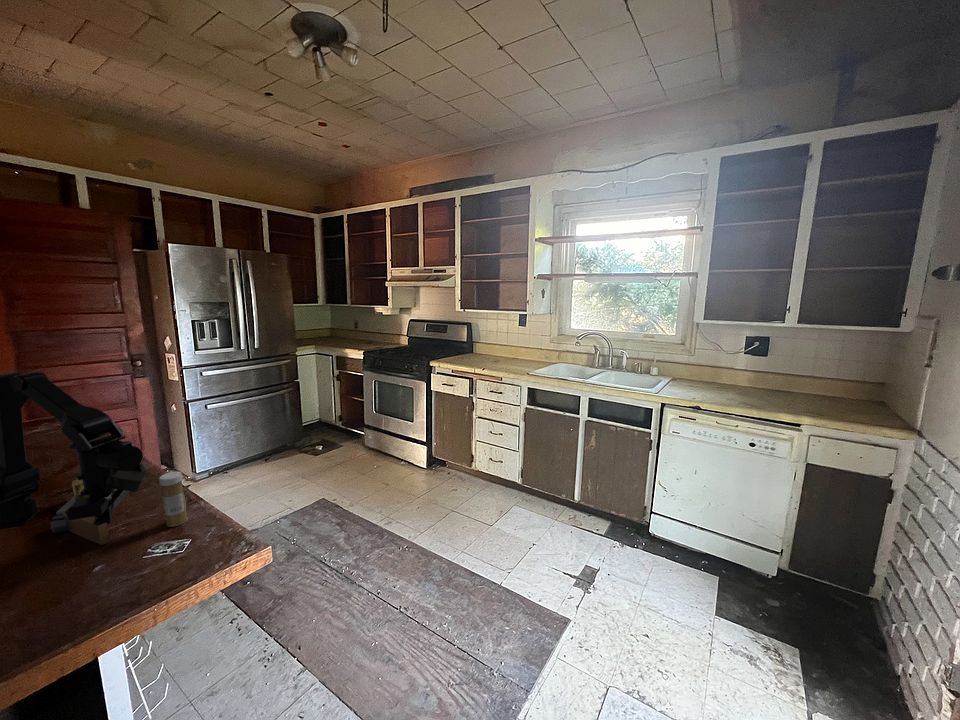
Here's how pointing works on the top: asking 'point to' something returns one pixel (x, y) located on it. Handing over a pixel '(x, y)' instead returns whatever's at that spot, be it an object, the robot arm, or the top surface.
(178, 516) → the sprinkles bottle
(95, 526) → the brown bar with knob
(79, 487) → the plate
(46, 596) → the top surface
